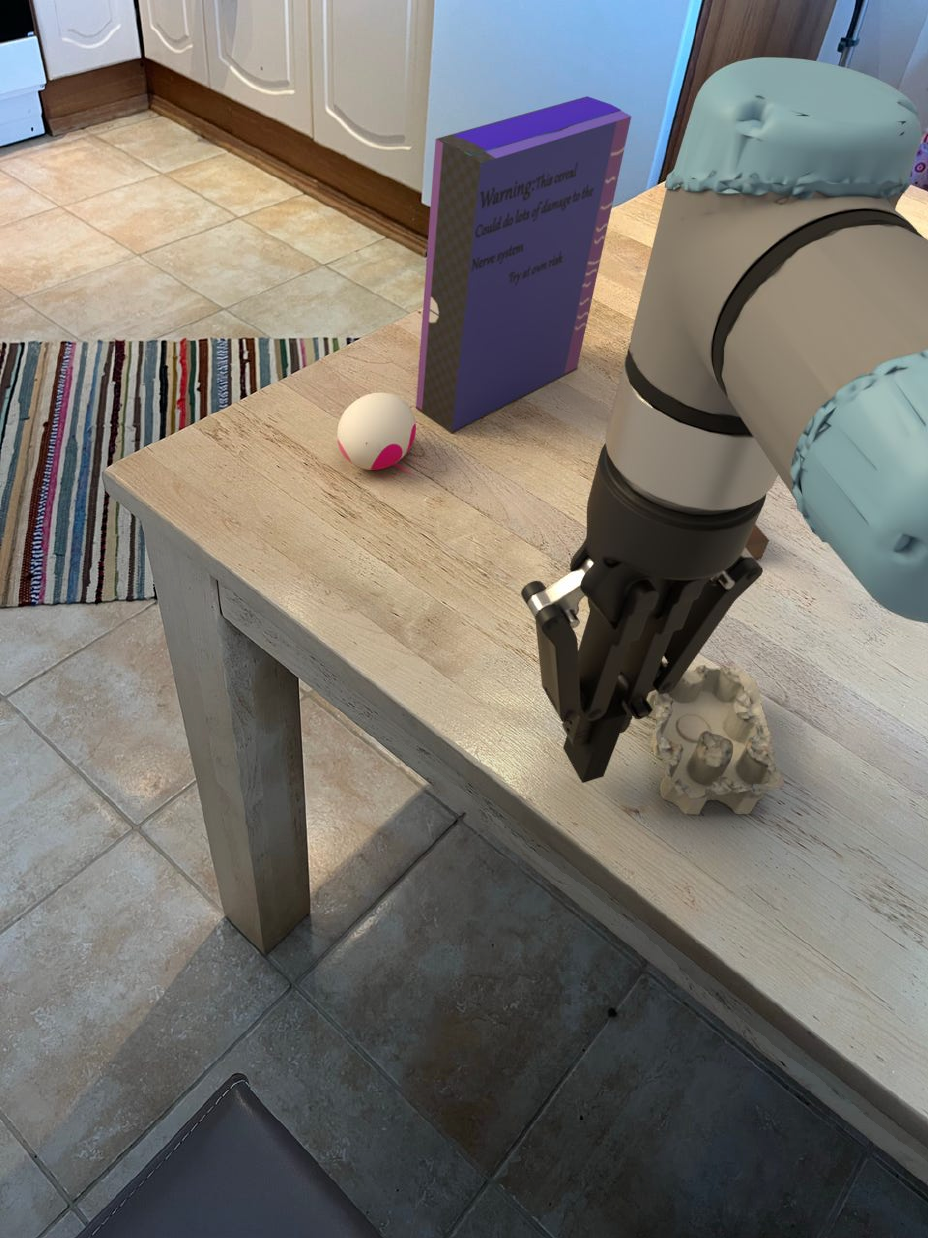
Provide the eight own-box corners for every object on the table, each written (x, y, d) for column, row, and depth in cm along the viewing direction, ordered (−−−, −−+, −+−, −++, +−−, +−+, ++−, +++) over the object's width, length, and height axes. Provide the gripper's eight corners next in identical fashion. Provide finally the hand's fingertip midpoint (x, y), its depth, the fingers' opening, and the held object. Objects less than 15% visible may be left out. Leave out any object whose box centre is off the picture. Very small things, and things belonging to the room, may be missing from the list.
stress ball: (366, 516, 82) (403, 487, 76) (305, 443, 80) (338, 408, 75) (418, 472, 86) (457, 441, 80) (361, 401, 84) (396, 365, 79)
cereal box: (541, 347, 96) (587, 93, 79) (576, 369, 94) (632, 113, 77) (415, 408, 87) (435, 135, 70) (451, 433, 85) (481, 159, 68)
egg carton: (634, 686, 68) (648, 648, 65) (737, 692, 68) (755, 655, 65) (655, 817, 60) (672, 781, 57) (770, 822, 61) (793, 787, 58)
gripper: (760, 393, 46) (643, 691, 63) (517, 435, 42) (464, 741, 59) (856, 491, 41) (702, 782, 59) (595, 548, 37) (512, 844, 55)
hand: (583, 762), depth 59 cm, fingers closed
